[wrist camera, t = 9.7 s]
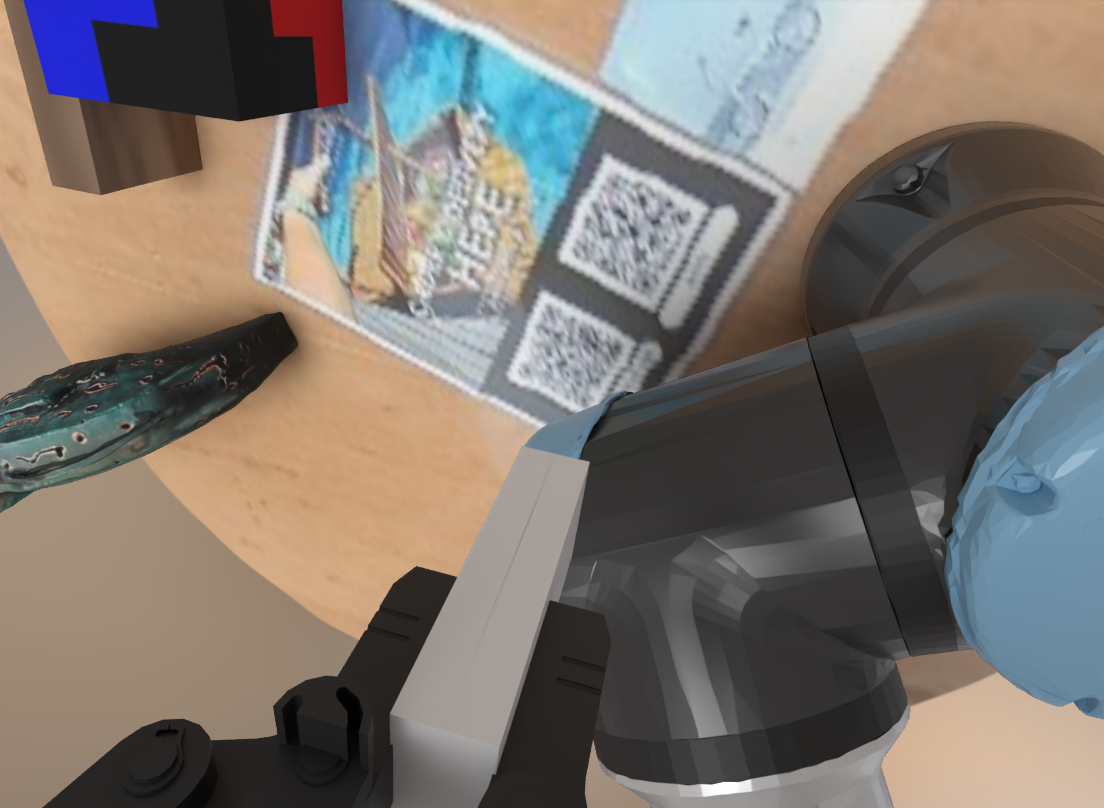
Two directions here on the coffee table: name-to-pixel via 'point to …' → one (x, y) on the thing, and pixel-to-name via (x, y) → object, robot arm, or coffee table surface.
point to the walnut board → (101, 131)
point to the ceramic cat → (129, 404)
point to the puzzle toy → (194, 54)
